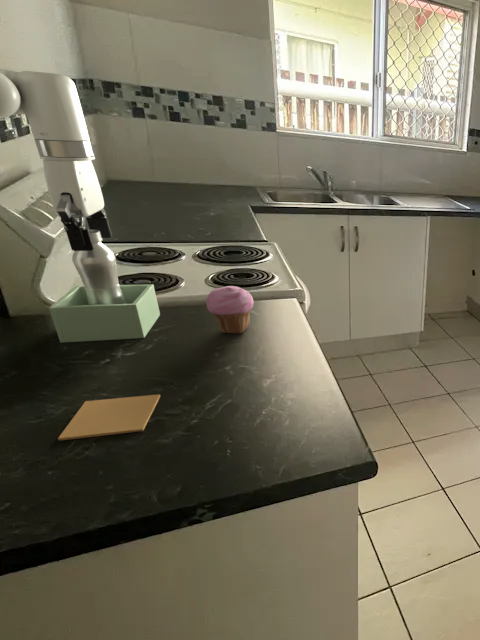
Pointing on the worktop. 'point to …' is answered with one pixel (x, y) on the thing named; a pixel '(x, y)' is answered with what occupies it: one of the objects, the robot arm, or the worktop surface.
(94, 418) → the mat
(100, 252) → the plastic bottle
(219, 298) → the cupcake
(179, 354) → the worktop surface
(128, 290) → the bin
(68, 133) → the robot arm
